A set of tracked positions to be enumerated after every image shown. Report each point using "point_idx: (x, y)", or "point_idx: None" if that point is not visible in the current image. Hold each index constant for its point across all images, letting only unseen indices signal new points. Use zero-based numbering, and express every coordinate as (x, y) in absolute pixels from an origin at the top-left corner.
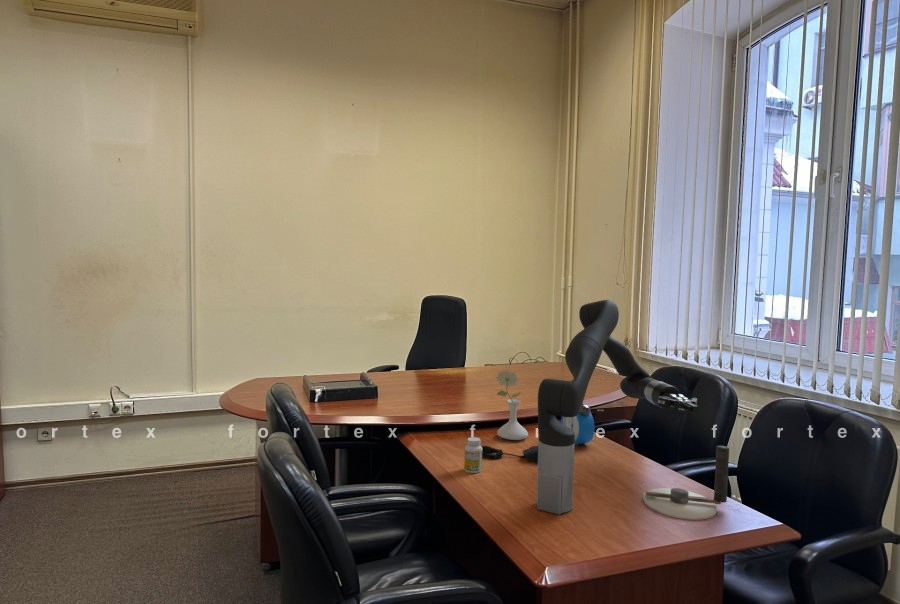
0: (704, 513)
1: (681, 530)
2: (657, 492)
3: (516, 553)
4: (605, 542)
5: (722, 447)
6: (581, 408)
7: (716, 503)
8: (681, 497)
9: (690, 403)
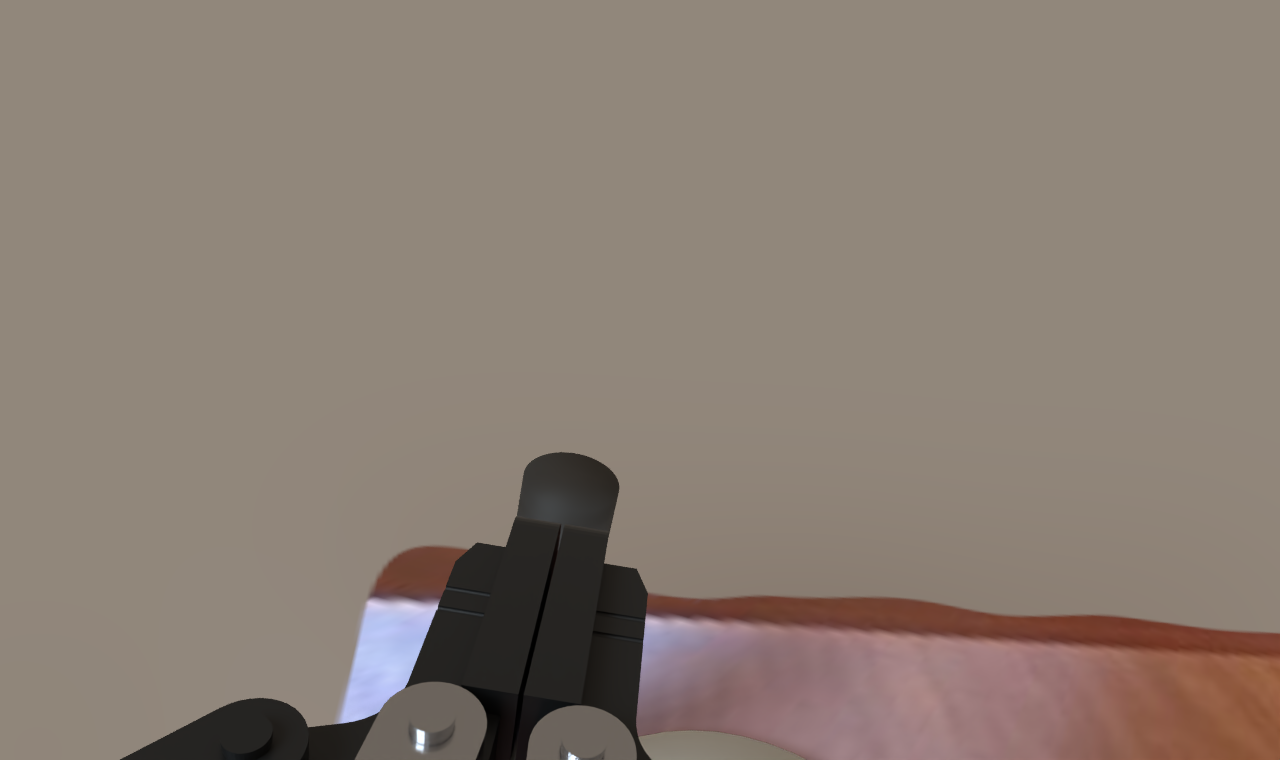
0: (689, 747)
1: (884, 701)
2: None
3: None
4: (1253, 727)
5: (574, 481)
6: None
7: None
8: None
9: (514, 641)
